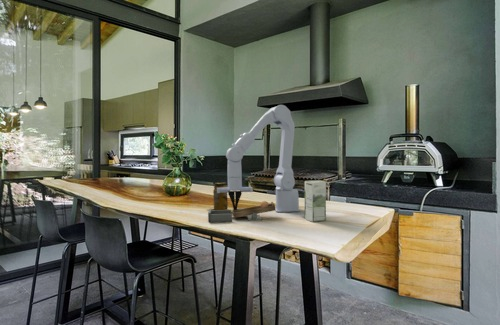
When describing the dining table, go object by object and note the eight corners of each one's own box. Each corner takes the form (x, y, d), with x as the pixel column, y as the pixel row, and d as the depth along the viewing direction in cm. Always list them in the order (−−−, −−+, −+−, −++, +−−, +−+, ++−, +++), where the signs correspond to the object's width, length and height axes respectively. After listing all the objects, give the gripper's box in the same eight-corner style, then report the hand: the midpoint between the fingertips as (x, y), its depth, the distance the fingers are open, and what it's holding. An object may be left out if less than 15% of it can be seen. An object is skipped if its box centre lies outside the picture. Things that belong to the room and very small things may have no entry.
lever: (271, 204, 132) (270, 198, 132) (275, 210, 120) (274, 204, 120) (233, 211, 131) (232, 205, 131) (233, 218, 119) (232, 211, 119)
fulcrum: (259, 215, 126) (259, 208, 126) (261, 220, 118) (261, 212, 118) (247, 215, 126) (246, 208, 126) (248, 220, 118) (248, 213, 118)
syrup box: (317, 217, 120) (317, 179, 120) (326, 220, 115) (326, 181, 114) (304, 219, 118) (303, 180, 118) (312, 222, 113) (312, 182, 112)
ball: (269, 204, 124) (264, 198, 124) (270, 205, 121) (265, 200, 121) (263, 209, 124) (258, 204, 123) (264, 211, 121) (259, 205, 120)
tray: (231, 216, 125) (231, 207, 125) (231, 221, 117) (231, 212, 117) (209, 217, 124) (209, 208, 124) (208, 222, 116) (208, 213, 116)
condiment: (231, 210, 137) (230, 183, 137) (214, 213, 133) (213, 184, 132) (223, 208, 143) (222, 181, 143) (206, 210, 139) (205, 183, 138)
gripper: (251, 175, 133) (252, 207, 134) (217, 176, 132) (217, 208, 133) (253, 177, 126) (253, 210, 127) (216, 177, 125) (217, 212, 126)
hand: (235, 210), depth 129 cm, fingers closed, pressing on lever
